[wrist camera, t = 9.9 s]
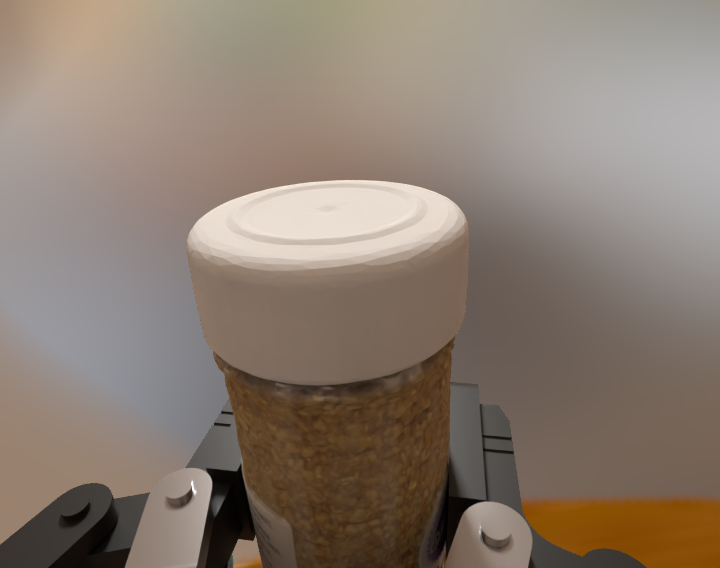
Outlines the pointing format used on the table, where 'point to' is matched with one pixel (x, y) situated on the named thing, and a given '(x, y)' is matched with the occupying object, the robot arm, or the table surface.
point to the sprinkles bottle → (338, 364)
